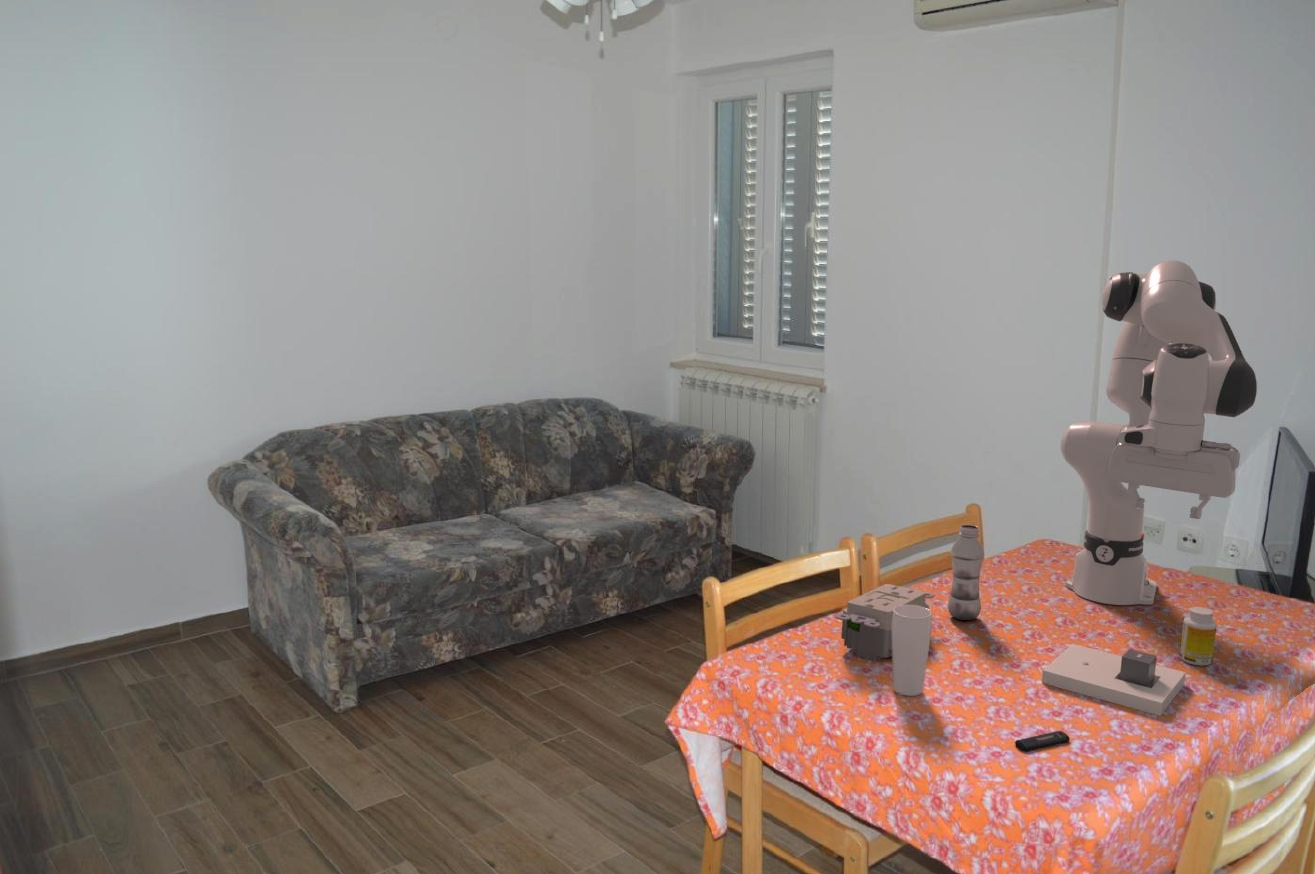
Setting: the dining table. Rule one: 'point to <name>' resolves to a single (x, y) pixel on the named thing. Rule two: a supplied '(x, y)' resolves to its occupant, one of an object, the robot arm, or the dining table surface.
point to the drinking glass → (910, 647)
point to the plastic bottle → (966, 574)
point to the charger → (1138, 668)
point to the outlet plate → (1111, 680)
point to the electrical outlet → (876, 619)
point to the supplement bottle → (1198, 637)
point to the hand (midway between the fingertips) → (1166, 513)
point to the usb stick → (1042, 741)
